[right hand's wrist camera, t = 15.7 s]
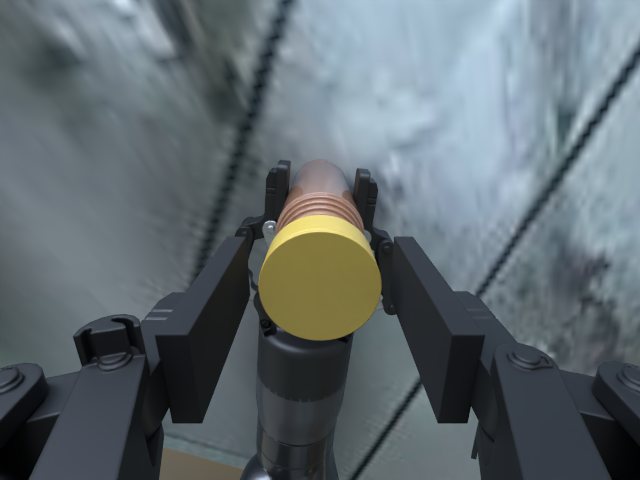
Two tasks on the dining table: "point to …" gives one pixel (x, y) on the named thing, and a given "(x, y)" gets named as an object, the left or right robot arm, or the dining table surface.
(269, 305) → the cap
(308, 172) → the bottle
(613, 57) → the dining table surface
